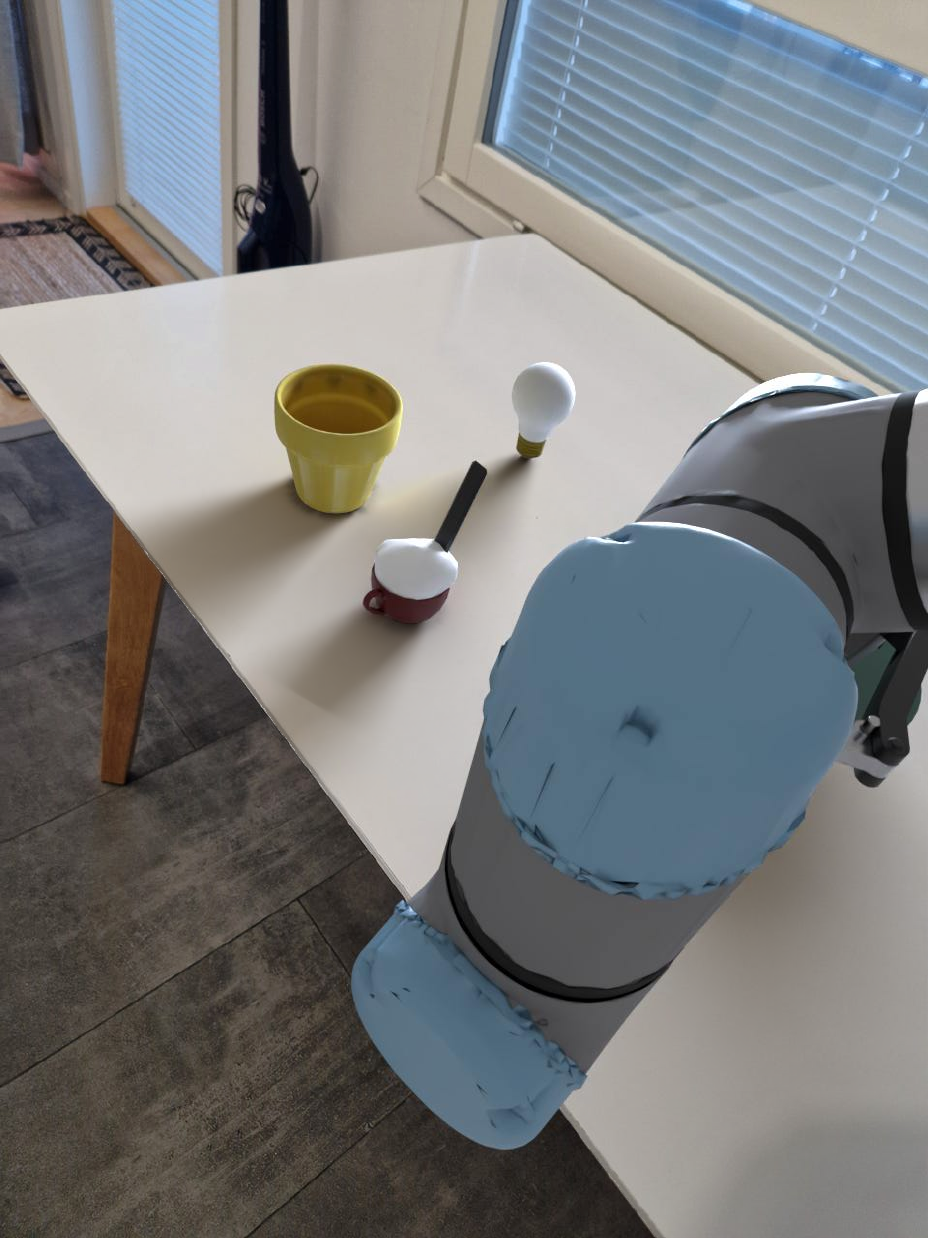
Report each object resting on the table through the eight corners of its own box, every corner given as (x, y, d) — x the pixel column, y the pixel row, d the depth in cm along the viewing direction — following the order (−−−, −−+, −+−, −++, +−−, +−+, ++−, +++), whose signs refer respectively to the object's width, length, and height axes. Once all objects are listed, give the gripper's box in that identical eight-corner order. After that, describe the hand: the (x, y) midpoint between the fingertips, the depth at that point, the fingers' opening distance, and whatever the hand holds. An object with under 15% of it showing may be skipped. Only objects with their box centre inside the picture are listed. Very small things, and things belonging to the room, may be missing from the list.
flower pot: (348, 546, 73) (356, 451, 66) (249, 494, 75) (247, 398, 68) (412, 487, 80) (426, 395, 73) (320, 441, 82) (325, 348, 75)
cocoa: (364, 642, 66) (379, 522, 57) (345, 584, 70) (356, 464, 61) (480, 625, 69) (510, 510, 60) (456, 571, 73) (481, 455, 64)
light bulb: (560, 448, 88) (586, 360, 81) (551, 481, 84) (577, 391, 77) (504, 432, 88) (525, 343, 81) (492, 465, 84) (513, 374, 77)
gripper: (512, 708, 40) (743, 508, 54) (814, 946, 35) (987, 654, 49) (549, 596, 35) (795, 406, 49) (914, 856, 29) (1076, 556, 43)
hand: (890, 530), depth 49 cm, fingers closed on lid, 3 cm apart
